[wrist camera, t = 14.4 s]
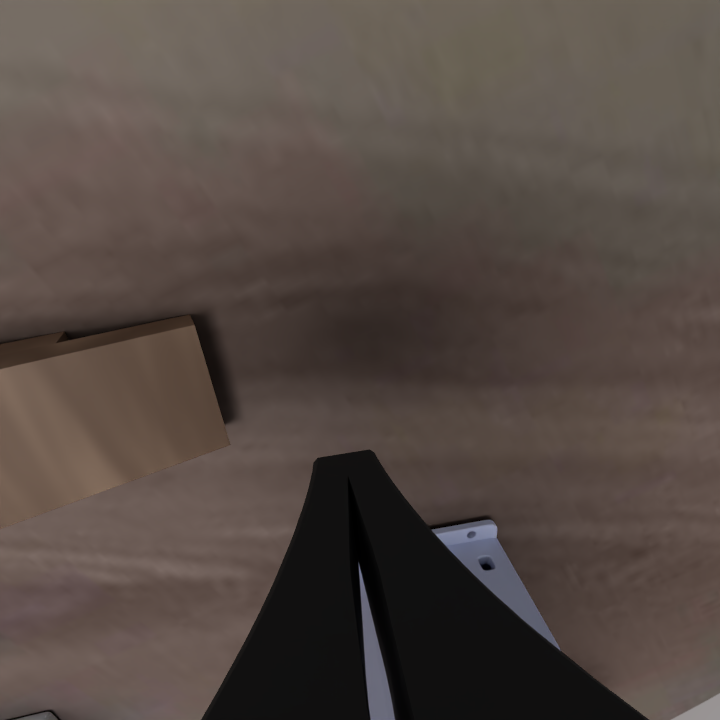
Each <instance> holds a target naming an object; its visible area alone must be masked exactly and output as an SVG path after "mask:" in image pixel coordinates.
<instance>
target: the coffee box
mask: <svg viewBox="0 0 720 720" xmlns="http://www.w3.org/2000/svg"><path fill="white" fill-rule="evenodd" d="M13 720H58V719H57V718H56V717H55V716H54V715H53V714H52V713H51V712H43V713H39V714H35V715H31V716H26V717H22V718H17V719H13Z"/></svg>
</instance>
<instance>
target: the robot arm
mask: <svg viewBox="0 0 720 720" xmlns="http://www.w3.org/2000/svg"><path fill="white" fill-rule="evenodd" d="M201 720H649V719H647V718H646V717H645V716H643V715H642V714H641V713H639V712H638V711H637V710H635V709H634V708H633V707H631V706H630V705H629V704H627V703H626V702H625V701H624V700H622V699H621V698H620V697H618V696H617V695H616V694H614V693H613V692H612V691H610V690H609V689H608V688H606V687H605V686H604V685H602V684H601V683H600V682H598V681H597V680H596V679H594V678H593V677H592V676H591V675H590V674H588V673H587V672H586V671H585V670H583V669H582V668H581V667H580V666H579V665H577V664H576V663H575V662H574V661H572V660H571V659H570V658H569V657H568V656H566V655H565V654H564V653H563V652H561V650H560V648H559V646H558V644H557V642H556V640H555V639H554V637H553V635H552V633H551V632H550V630H549V628H548V626H547V625H546V623H545V621H544V619H543V618H542V616H541V614H540V613H539V611H538V609H537V607H536V606H535V604H534V602H533V600H532V599H531V597H530V595H529V593H528V592H527V590H526V588H525V586H524V585H523V583H522V581H521V579H520V578H519V576H518V574H517V572H516V571H515V569H514V567H513V565H512V564H511V562H510V560H509V558H508V557H507V555H506V553H505V551H504V550H503V548H502V546H501V544H500V543H499V541H498V539H497V526H496V524H495V523H494V521H492V520H483V521H477V522H471V523H466V524H460V525H455V526H449V527H443V528H438V529H432V530H431V529H430V528H429V527H428V526H427V524H426V523H425V522H424V521H423V520H422V519H421V517H420V516H419V515H418V514H417V512H416V511H415V510H414V509H413V508H412V506H411V505H410V504H409V503H408V501H407V500H406V499H405V498H404V496H403V495H402V494H401V492H400V491H399V490H398V488H397V487H396V486H395V484H394V483H393V481H392V480H391V479H390V477H389V476H388V474H387V473H386V471H385V470H384V468H383V467H382V465H381V464H380V462H379V460H378V458H377V457H376V455H375V453H374V452H372V451H371V450H364V451H358V452H352V453H345V454H339V455H333V456H327V457H321V458H317V459H316V461H315V462H314V463H313V471H312V476H311V481H310V485H309V489H308V492H307V496H306V499H305V502H304V506H303V509H302V512H301V514H300V517H299V520H298V523H297V526H296V529H295V532H294V535H293V537H292V540H291V542H290V545H289V547H288V550H287V552H286V554H285V557H284V559H283V562H282V564H281V566H280V569H279V571H278V574H277V576H276V578H275V581H274V583H273V585H272V587H271V589H270V592H269V594H268V596H267V598H266V600H265V602H264V604H263V606H262V609H261V611H260V613H259V615H258V617H257V619H256V621H255V623H254V625H253V627H252V629H251V631H250V633H249V635H248V637H247V638H246V640H245V642H244V644H243V646H242V648H241V650H240V652H239V653H238V655H237V657H236V659H235V661H234V662H233V664H232V666H231V668H230V670H229V672H228V673H227V675H226V677H225V679H224V681H223V683H222V684H221V686H220V688H219V690H218V692H217V693H216V695H215V697H214V699H213V700H212V702H211V704H210V706H209V707H208V709H207V711H206V712H205V714H204V716H203V718H202V719H201Z"/></svg>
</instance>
